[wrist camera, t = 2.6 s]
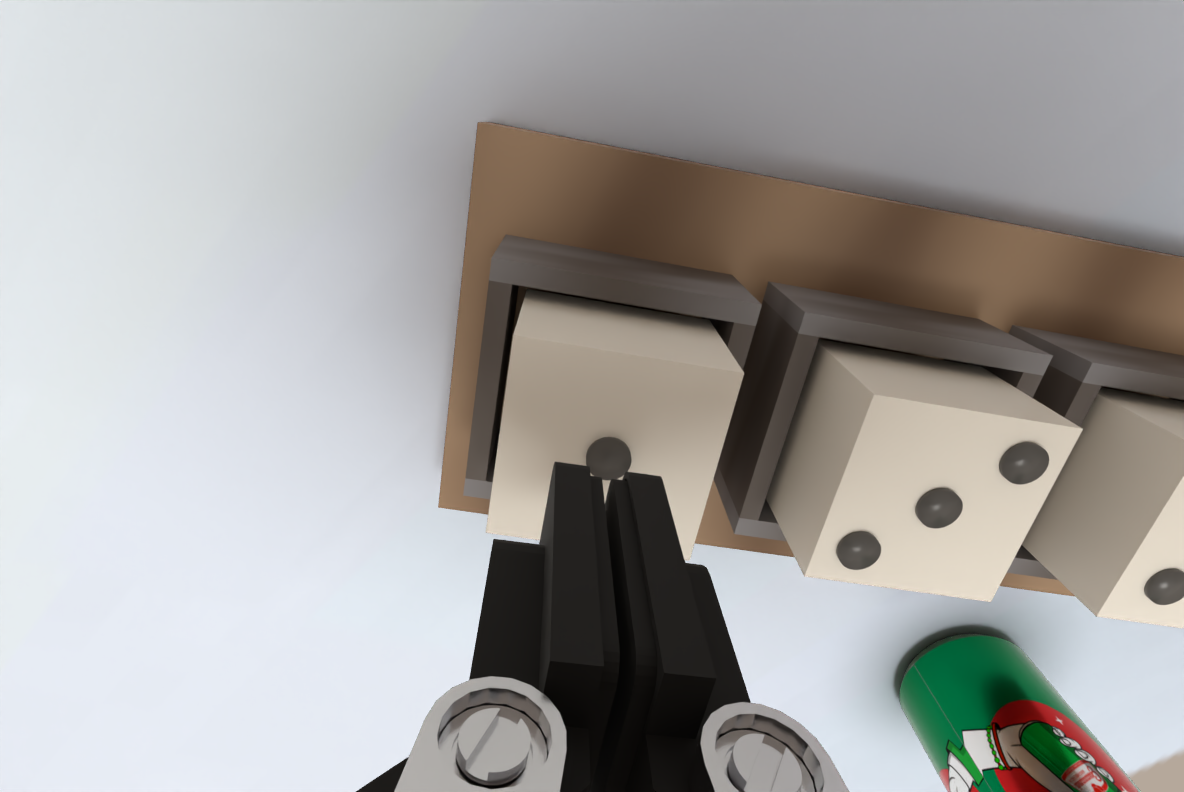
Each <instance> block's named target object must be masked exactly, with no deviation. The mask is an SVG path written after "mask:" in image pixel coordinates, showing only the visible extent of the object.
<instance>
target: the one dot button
mask: <svg viewBox="0 0 1184 792" xmlns="http://www.w3.org/2000/svg"><path fill="white" fill-rule="evenodd" d="M743 376H744V372H743V370H742V369H741V367H740V366H739V364H738V363H737V361H736V360H735V358H734V357H733V355H732V354H731V352H730V351H729V349H728V348H727V346H726V344H725V343H724V341H723V340H722V338H721V337H720V335H719V334H718V332H717V331H716V329H715V328H714V326H713V325H712V323H711V322H710V320H705V319H700V318H694V317H688V316H682V315H676V314H671V313H665V312H659V311H653V310H647V309H641V308H636V307H630V306H624V305H618V304H612V303H606V302H601V301H595V300H589V299H583V298H577V297H572V296H566V295H560V294H554V293H548V292H542V291H537V290H531V289H527V291H526V294H525V297H524V301H523V304H522V307H521V311H520V314H519V317H518V321H517V324H516V327H515V331H514V334H513V340H512V347H511V354H510V361H509V369H508V376H507V383H506V390H505V398H504V405H503V412H502V419H501V426H500V434H499V441H498V448H497V455H496V462H495V470H494V477H493V484H492V491H491V498H490V506H489V513H488V520H487V527H486V533H492V534H499V535H506V536H513V537H521V538H528V539H535V540H540V537H541V532H542V526H543V520H544V515H545V509H546V504H547V498H548V492H549V487H550V481H551V476H552V470H553V466H554V462H562V463H570V464H577V465H584V466H589V467H590V475H591V476H596V477H602V481H603V491H604V501H606V497H607V492H608V488H609V484H610V481H611V479H618V480H622V479H623V476H624V474H625V472H626V471H627V472H634V473H641V474H648V475H655V476H661V477H662V480H663V483H664V487H665V490H666V494H667V498H668V501H669V505H670V509H671V513H672V516H673V520H674V524H675V527H676V531H677V535H678V538H679V542H680V546H681V549H682V553H683V557H684V560H688V561H689V560H690V557H691V553H692V550H693V547H694V543H695V540H696V536H697V533H698V530H699V526H700V523H701V519H702V516H703V513H704V509H705V506H706V502H707V499H708V495H709V492H710V489H711V485H712V482H713V478H714V475H715V472H716V468H717V465H718V461H719V458H720V454H721V451H722V448H723V444H724V441H725V437H726V434H727V431H728V427H729V424H730V420H731V417H732V413H733V410H734V407H735V403H736V400H737V396H738V393H739V390H740V386H741V383H742V379H743Z"/></svg>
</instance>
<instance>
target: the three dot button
mask: <svg viewBox="0 0 1184 792" xmlns="http://www.w3.org/2000/svg"><path fill="white" fill-rule="evenodd" d="M1082 430H1083V429H1082V428H1081V427H1079V426H1077V425H1076V424H1074V423H1072V422H1071V421H1069V420H1068V419H1066V418H1064V417H1063V416H1061V415H1059V414H1058V413H1056V412H1054V411H1053V410H1051V409H1050V408H1048V407H1046V406H1045V405H1043V404H1041V403H1040V402H1038V401H1036V400H1035V399H1033V398H1032V397H1030V396H1028V395H1027V394H1025V393H1023V392H1022V391H1020V390H1018V389H1017V388H1015V387H1014V386H1012V385H1010V384H1009V383H1007V382H1005V381H1004V380H1002V379H1001V378H999V377H997V376H996V375H994V374H992V373H991V372H989V371H987V370H986V369H984V368H983V367H979V366H973V365H967V364H962V363H956V362H950V361H944V360H938V359H933V358H927V357H921V356H915V355H909V354H903V353H898V352H892V351H886V350H880V349H874V348H868V347H863V346H857V345H851V344H845V343H839V342H834V341H828V340H822V339H819V340H818V343H817V346H816V349H815V352H814V355H813V358H812V361H811V364H810V367H809V370H808V373H807V376H806V379H805V382H804V385H803V388H802V391H801V394H800V397H799V400H798V403H797V406H796V409H795V412H794V415H793V418H792V421H791V424H790V427H789V430H788V433H787V436H786V439H785V442H784V445H783V448H782V451H781V454H780V457H779V460H778V463H777V466H776V469H775V472H774V475H773V478H772V481H771V484H770V487H769V490H768V493H767V496H766V500H767V502H768V504H769V506H770V508H771V510H772V512H773V514H774V516H775V518H776V520H777V522H778V524H779V526H780V528H781V530H782V532H783V534H784V536H785V538H786V540H787V542H788V544H789V546H790V548H791V550H792V552H793V554H794V556H795V558H796V560H797V562H798V564H799V566H800V568H801V570H802V572H803V574H804V576H805V577H812V578H820V579H827V580H834V581H842V582H849V583H856V584H863V585H871V586H878V587H885V588H893V589H900V590H907V591H914V592H922V593H929V594H936V595H944V596H951V597H958V598H965V599H973V600H980V601H987V602H991V601H992V599H993V597H994V595H995V593H996V591H997V590H998V588H999V586H1000V584H1001V582H1002V580H1003V578H1004V576H1005V575H1006V573H1007V571H1008V569H1009V567H1010V565H1011V563H1012V561H1013V560H1014V558H1015V556H1016V554H1017V552H1018V550H1019V548H1020V546H1021V545H1022V543H1023V541H1024V539H1025V537H1026V535H1027V533H1028V531H1029V530H1030V528H1031V526H1032V524H1033V522H1034V520H1035V518H1036V516H1037V515H1038V513H1039V511H1040V509H1041V507H1042V505H1043V503H1044V501H1045V500H1046V498H1047V496H1048V494H1049V492H1050V490H1051V488H1052V486H1053V484H1054V483H1055V481H1056V479H1057V477H1058V475H1059V473H1060V471H1061V469H1062V468H1063V466H1064V464H1065V462H1066V460H1067V458H1068V456H1069V454H1070V453H1071V451H1072V449H1073V447H1074V445H1075V443H1076V441H1077V439H1078V438H1079V436H1080V434H1081V432H1082Z"/></svg>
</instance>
